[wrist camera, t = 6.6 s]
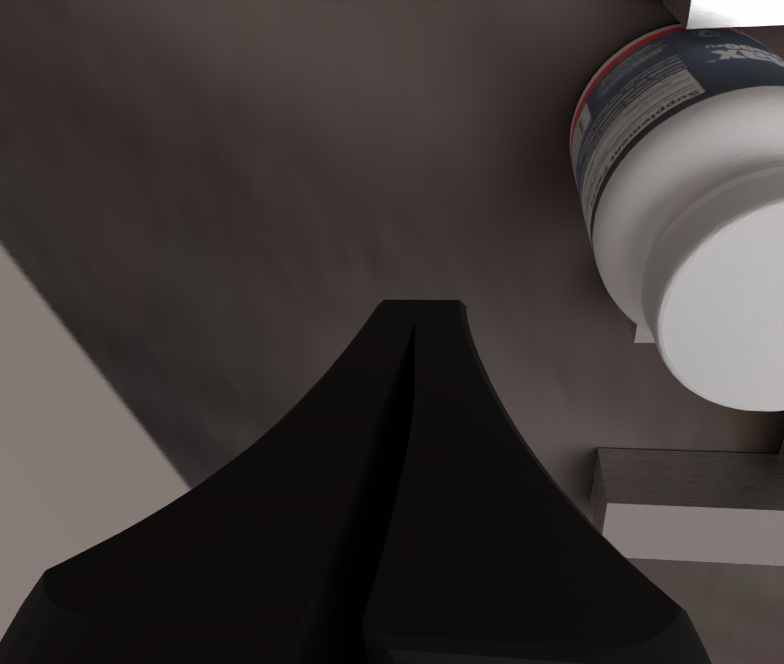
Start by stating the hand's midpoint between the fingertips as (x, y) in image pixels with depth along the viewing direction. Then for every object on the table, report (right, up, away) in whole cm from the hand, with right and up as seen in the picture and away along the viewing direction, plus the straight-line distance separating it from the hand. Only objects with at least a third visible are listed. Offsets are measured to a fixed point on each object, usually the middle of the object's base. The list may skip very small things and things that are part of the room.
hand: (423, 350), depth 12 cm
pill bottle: (+7, +6, +7) cm, 11 cm away
